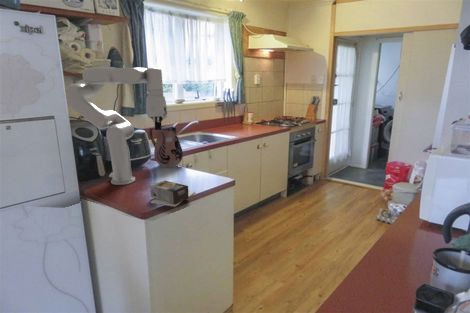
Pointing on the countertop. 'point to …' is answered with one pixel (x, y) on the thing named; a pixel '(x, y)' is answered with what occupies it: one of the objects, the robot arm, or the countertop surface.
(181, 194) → the coffee box
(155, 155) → the ceramic pitcher
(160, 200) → the mat
